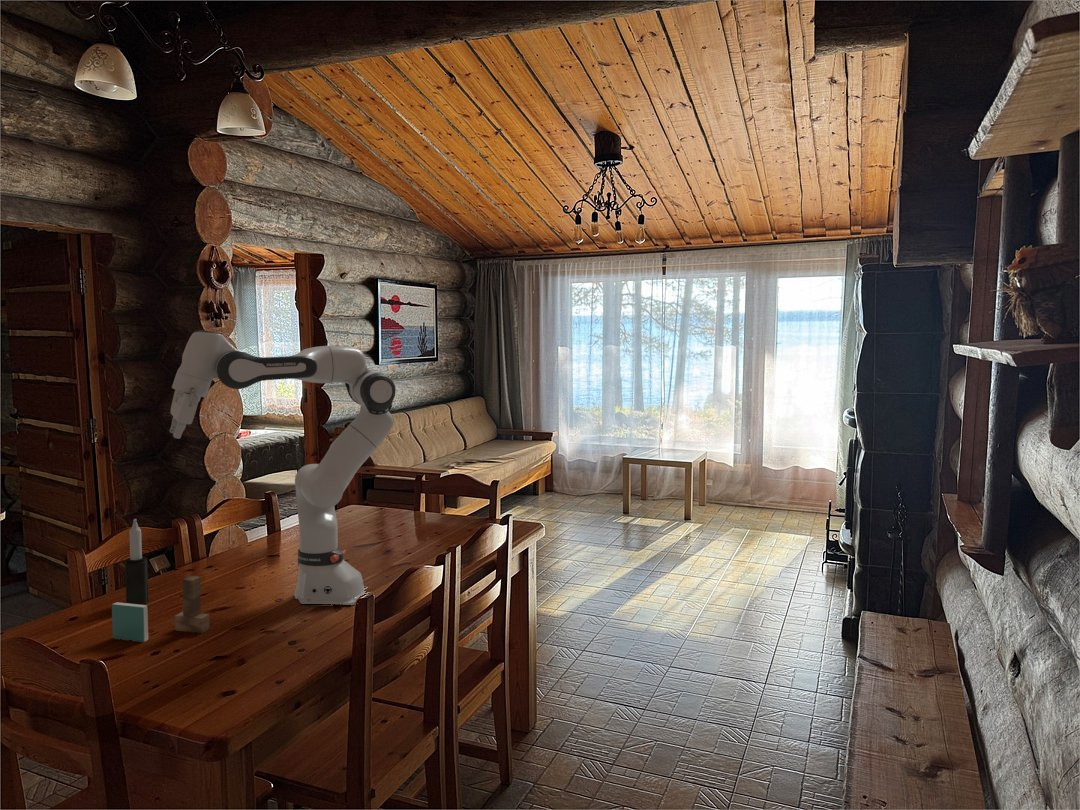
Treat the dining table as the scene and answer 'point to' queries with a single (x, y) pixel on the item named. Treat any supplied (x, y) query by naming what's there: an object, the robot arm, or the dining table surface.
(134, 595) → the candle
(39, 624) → the dining table surface
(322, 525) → the robot arm
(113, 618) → the tile
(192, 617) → the grey t-shaped post
